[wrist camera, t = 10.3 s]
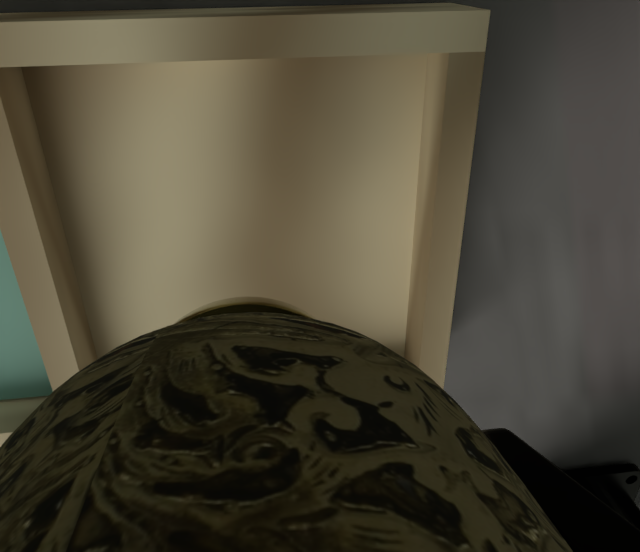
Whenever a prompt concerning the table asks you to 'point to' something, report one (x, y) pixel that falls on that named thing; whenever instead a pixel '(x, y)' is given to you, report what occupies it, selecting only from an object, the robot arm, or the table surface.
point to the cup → (259, 449)
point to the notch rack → (230, 175)
